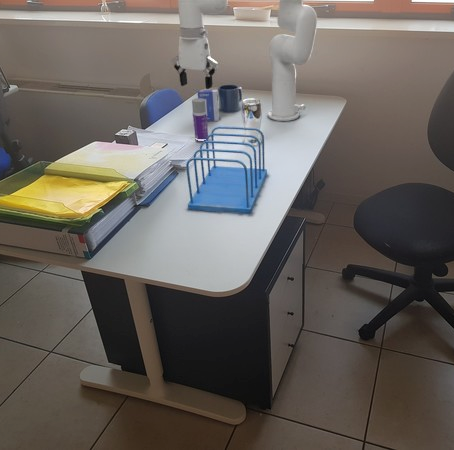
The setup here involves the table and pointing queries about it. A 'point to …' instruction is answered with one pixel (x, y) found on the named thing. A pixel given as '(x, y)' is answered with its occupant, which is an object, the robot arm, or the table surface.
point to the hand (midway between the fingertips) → (196, 86)
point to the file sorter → (227, 179)
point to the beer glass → (252, 119)
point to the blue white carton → (210, 104)
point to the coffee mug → (229, 98)
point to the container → (200, 119)
